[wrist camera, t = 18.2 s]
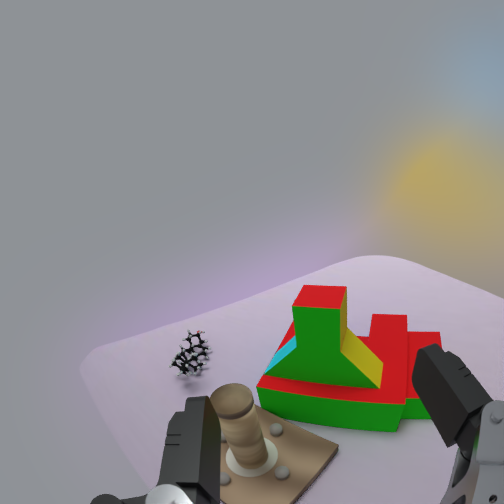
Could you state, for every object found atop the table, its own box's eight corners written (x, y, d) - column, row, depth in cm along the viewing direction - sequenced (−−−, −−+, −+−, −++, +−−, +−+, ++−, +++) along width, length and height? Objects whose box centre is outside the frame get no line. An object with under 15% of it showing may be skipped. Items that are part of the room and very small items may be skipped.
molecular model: (186, 354, 57) (189, 325, 57) (214, 360, 56) (217, 330, 56) (159, 385, 41) (161, 348, 41) (195, 393, 41) (198, 357, 41)
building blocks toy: (436, 433, 26) (479, 325, 20) (263, 415, 37) (239, 313, 31) (433, 345, 42) (448, 248, 36) (301, 338, 53) (291, 248, 47)
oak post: (250, 438, 32) (230, 377, 28) (275, 453, 29) (261, 394, 25) (228, 458, 29) (200, 401, 25) (253, 475, 26) (230, 421, 22)
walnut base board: (245, 404, 40) (241, 393, 39) (337, 450, 29) (339, 441, 28) (175, 460, 30) (167, 451, 29) (265, 531, 20) (262, 527, 19)
